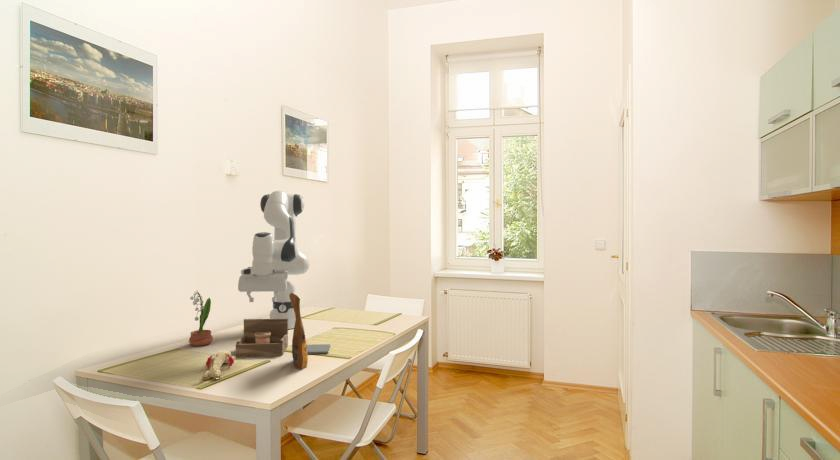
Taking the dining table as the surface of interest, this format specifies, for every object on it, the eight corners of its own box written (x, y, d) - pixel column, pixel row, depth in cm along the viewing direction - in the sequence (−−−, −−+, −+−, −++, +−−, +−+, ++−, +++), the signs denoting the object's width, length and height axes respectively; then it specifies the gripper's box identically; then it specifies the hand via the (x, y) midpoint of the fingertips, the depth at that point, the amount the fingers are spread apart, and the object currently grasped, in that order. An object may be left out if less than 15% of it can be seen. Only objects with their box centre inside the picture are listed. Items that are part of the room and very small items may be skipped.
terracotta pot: (256, 349, 207) (256, 331, 207) (272, 349, 208) (272, 331, 208) (252, 353, 200) (252, 335, 200) (269, 353, 201) (269, 334, 201)
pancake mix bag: (290, 371, 177) (290, 297, 177) (289, 357, 195) (289, 290, 195) (308, 370, 179) (309, 296, 179) (305, 356, 197) (305, 289, 197)
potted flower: (201, 348, 208) (201, 292, 207) (181, 347, 209) (181, 291, 209) (217, 342, 219) (217, 288, 219) (198, 340, 221) (198, 288, 221)
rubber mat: (305, 346, 212) (305, 344, 212) (330, 346, 213) (330, 344, 213) (301, 354, 200) (301, 352, 200) (328, 353, 201) (328, 351, 201)
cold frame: (244, 347, 210) (244, 319, 210) (287, 346, 212) (288, 318, 212) (235, 356, 196) (235, 326, 196) (282, 355, 198) (282, 325, 198)
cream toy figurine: (226, 383, 168) (238, 358, 192) (225, 360, 167) (237, 337, 191) (196, 385, 166) (212, 359, 190) (195, 361, 165) (211, 338, 189)
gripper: (288, 269, 208) (288, 300, 208) (240, 269, 206) (240, 300, 206) (286, 270, 202) (286, 302, 202) (236, 270, 199) (236, 303, 199)
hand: (262, 301), depth 204 cm, fingers open, 8 cm apart
